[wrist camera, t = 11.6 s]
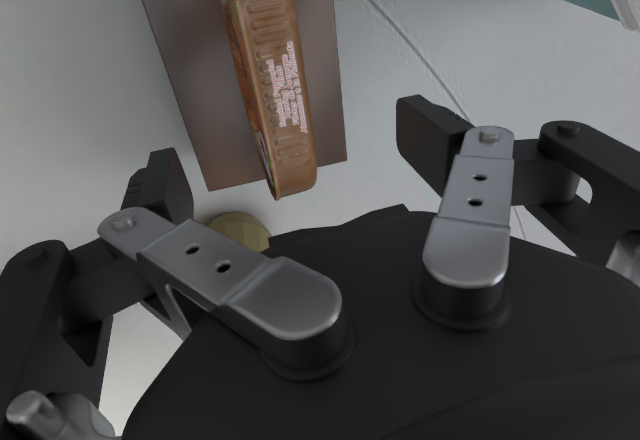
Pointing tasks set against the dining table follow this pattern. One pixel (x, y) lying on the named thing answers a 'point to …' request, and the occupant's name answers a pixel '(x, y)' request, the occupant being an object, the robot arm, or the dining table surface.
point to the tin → (274, 90)
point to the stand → (224, 90)
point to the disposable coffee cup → (615, 10)
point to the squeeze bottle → (242, 229)
